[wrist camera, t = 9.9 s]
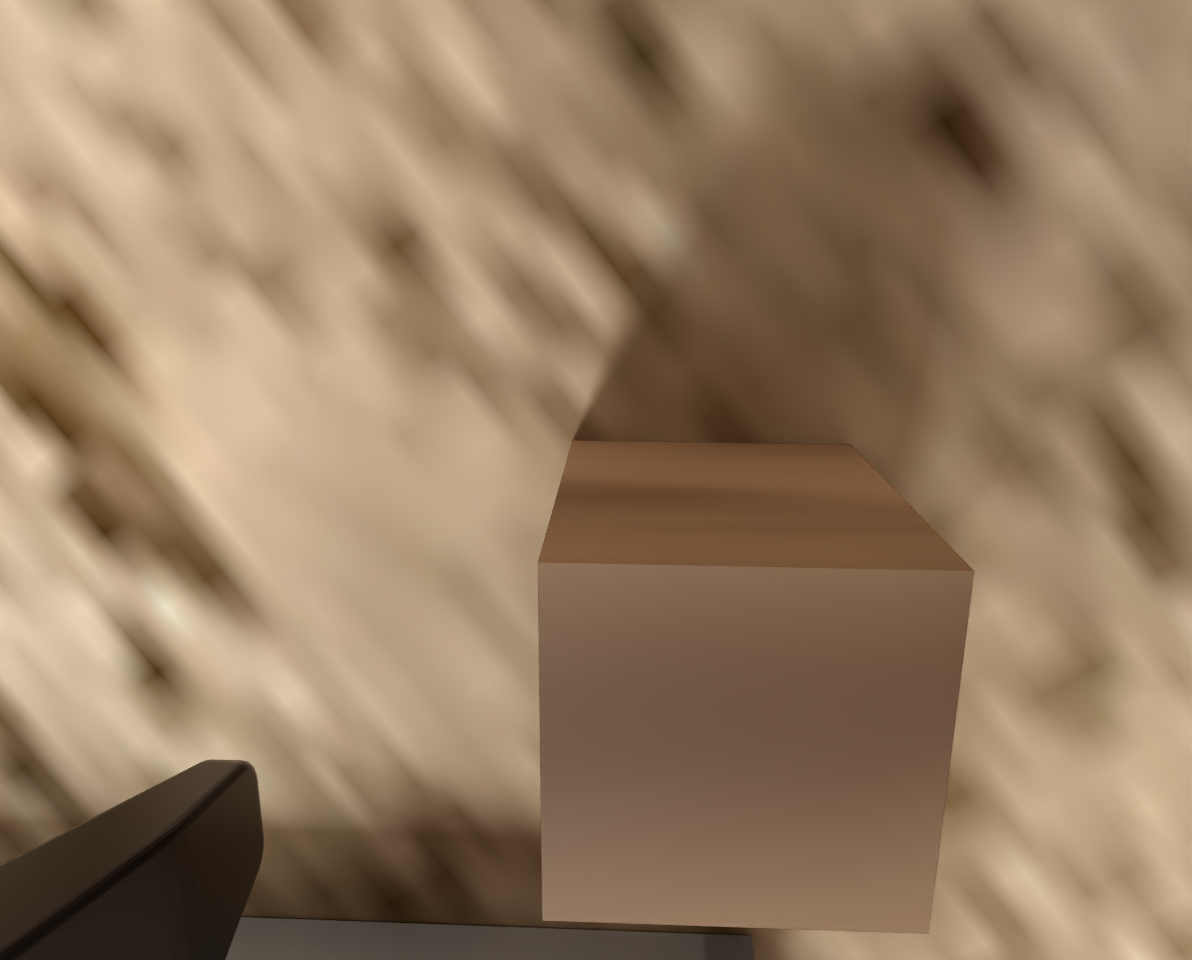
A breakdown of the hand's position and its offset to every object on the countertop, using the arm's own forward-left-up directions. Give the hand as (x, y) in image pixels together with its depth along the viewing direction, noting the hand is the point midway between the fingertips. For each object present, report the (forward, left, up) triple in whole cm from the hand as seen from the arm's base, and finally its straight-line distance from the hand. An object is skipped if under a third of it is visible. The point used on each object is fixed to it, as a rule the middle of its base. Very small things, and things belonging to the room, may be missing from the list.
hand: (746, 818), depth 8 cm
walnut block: (0, 0, -6) cm, 6 cm away
